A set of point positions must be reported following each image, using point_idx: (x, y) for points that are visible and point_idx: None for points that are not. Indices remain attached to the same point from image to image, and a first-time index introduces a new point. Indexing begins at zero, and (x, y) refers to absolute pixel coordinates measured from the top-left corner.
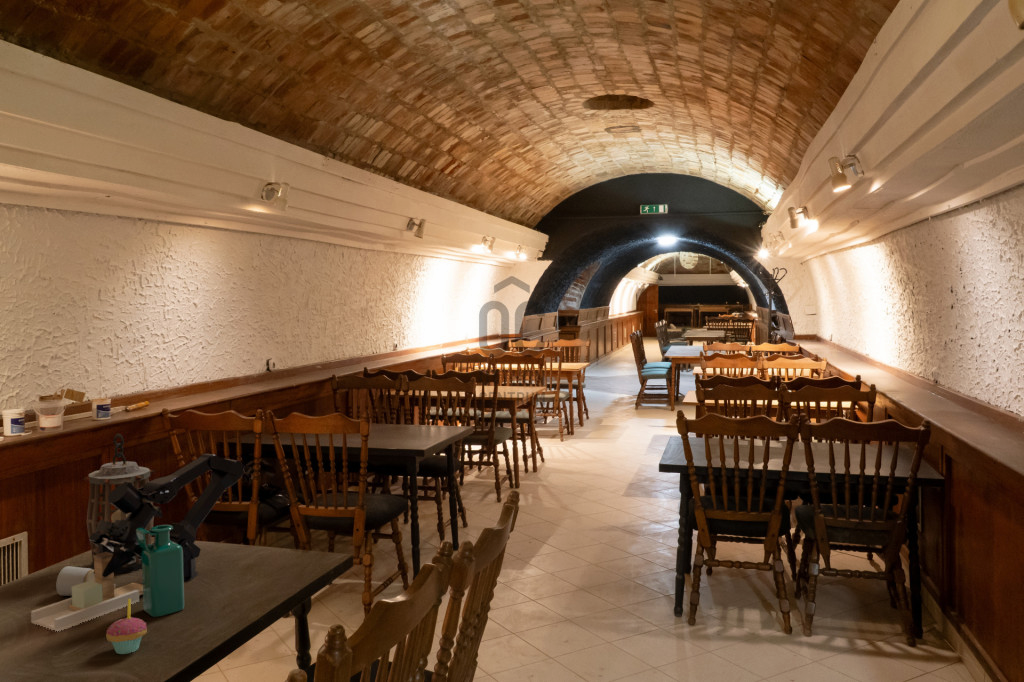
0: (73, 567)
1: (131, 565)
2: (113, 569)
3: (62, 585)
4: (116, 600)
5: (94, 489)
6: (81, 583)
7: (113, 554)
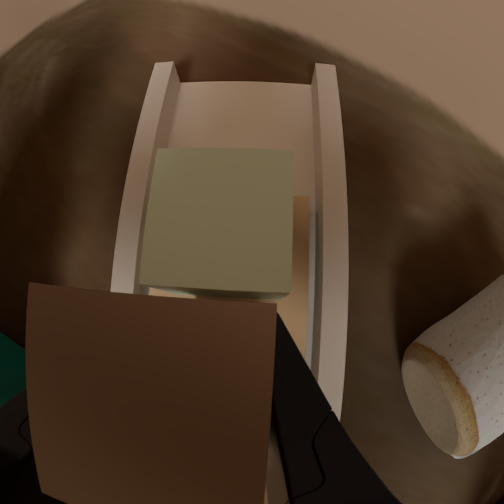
0: None
1: None
2: None
3: (494, 284)
4: None
5: None
6: (289, 218)
7: (9, 459)
